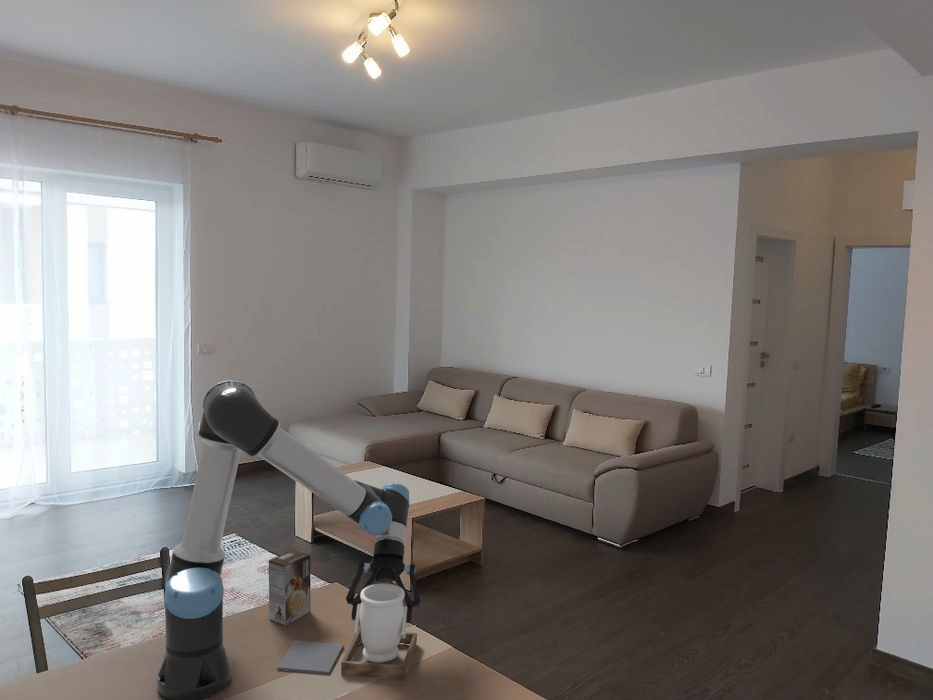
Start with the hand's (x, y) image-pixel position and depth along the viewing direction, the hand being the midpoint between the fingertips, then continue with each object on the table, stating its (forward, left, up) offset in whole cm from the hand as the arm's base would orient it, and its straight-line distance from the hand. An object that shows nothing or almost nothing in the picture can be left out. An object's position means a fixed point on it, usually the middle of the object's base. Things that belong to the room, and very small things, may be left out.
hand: (379, 635), depth 162 cm
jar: (0, +3, -6) cm, 7 cm away
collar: (0, +3, -7) cm, 8 cm away
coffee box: (-28, +20, -8) cm, 35 cm away
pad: (-16, +1, -7) cm, 18 cm away
